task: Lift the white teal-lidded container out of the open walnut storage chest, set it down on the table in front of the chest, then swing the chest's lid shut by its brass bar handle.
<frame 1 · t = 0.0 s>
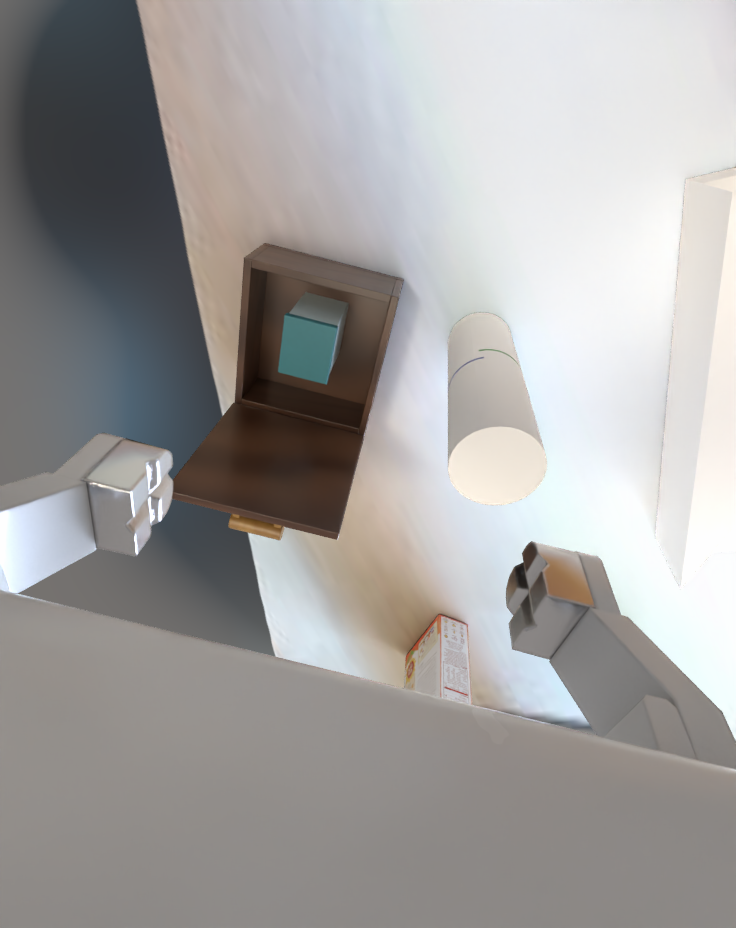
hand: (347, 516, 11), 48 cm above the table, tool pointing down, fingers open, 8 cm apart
white teal-lidded container: (323, 322, 58), point 1 cm above the table, touching chest
cylindrical container: (479, 342, 58), on the table
chest: (322, 332, 59), on the table
cracker box: (436, 639, 89), on the table
lid: (276, 476, 52), point 16 cm above the table, hinge at 88.0°
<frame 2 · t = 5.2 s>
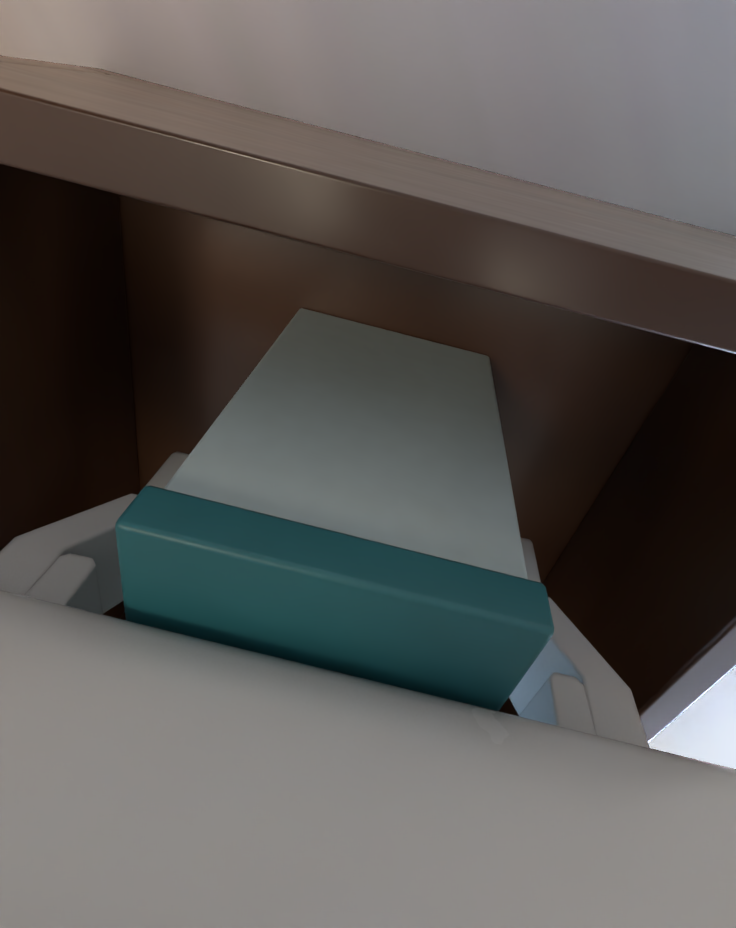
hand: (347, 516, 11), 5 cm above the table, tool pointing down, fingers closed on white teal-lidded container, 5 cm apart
white teal-lidded container: (370, 428, 15), point 1 cm above the table, touching chest, gripper
chest: (362, 454, 16), on the table
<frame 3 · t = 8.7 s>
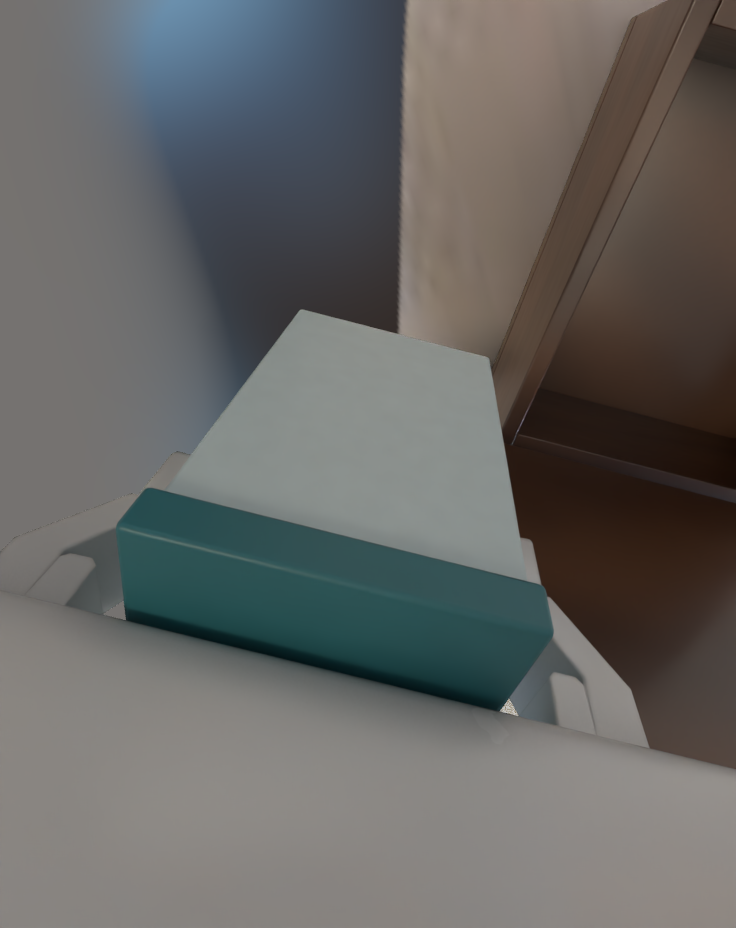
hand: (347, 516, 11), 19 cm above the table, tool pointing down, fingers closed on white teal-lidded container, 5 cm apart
white teal-lidded container: (370, 429, 15), point 16 cm above the table, touching gripper
chest: (695, 274, 25), on the table
lid: (710, 672, 18), point 16 cm above the table, hinge at 88.0°
when the fingers open (4 cm above the table, at t = 12.6 s): white teal-lidded container stays where it is, on the table.
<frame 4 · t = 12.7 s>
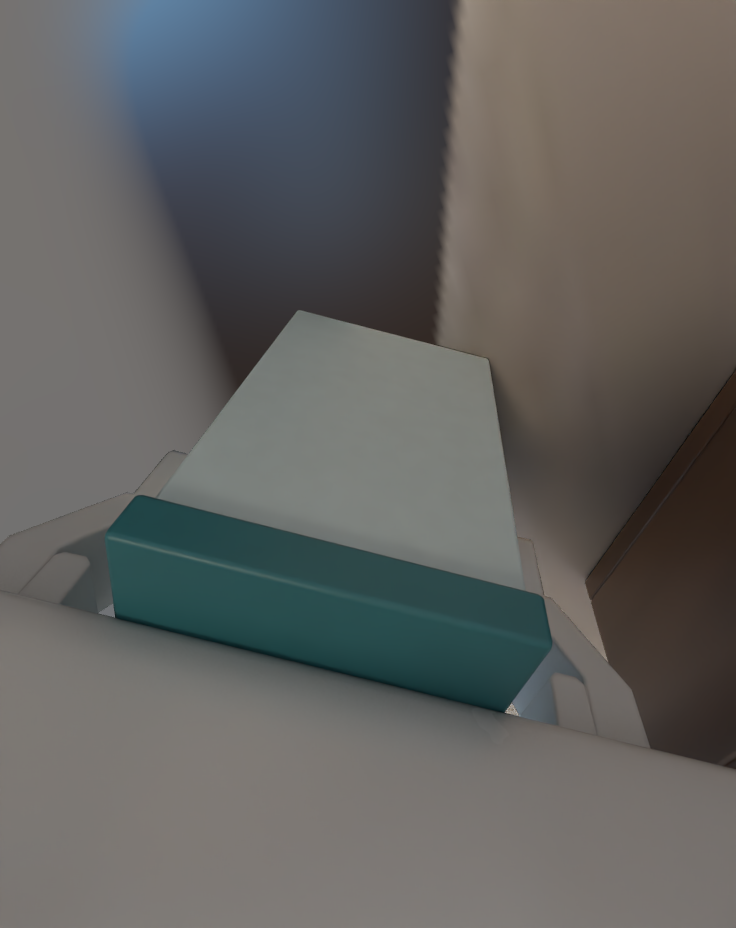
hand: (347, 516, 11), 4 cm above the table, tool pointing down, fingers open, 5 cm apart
white teal-lidded container: (368, 431, 14), on the table
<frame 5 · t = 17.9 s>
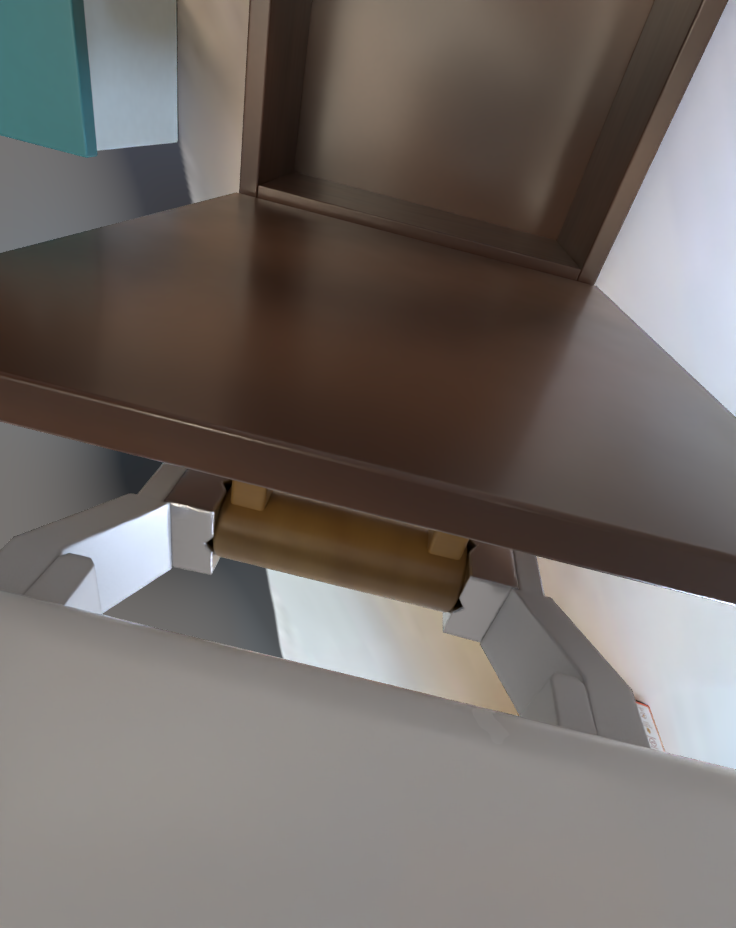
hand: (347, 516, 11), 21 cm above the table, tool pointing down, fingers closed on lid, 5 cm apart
white teal-lidded container: (128, 59, 25), on the table
chest: (473, 19, 22), on the table
cracker box: (582, 724, 52), on the table
lid: (385, 369, 15), point 16 cm above the table, hinge at 88.0°, touching gripper
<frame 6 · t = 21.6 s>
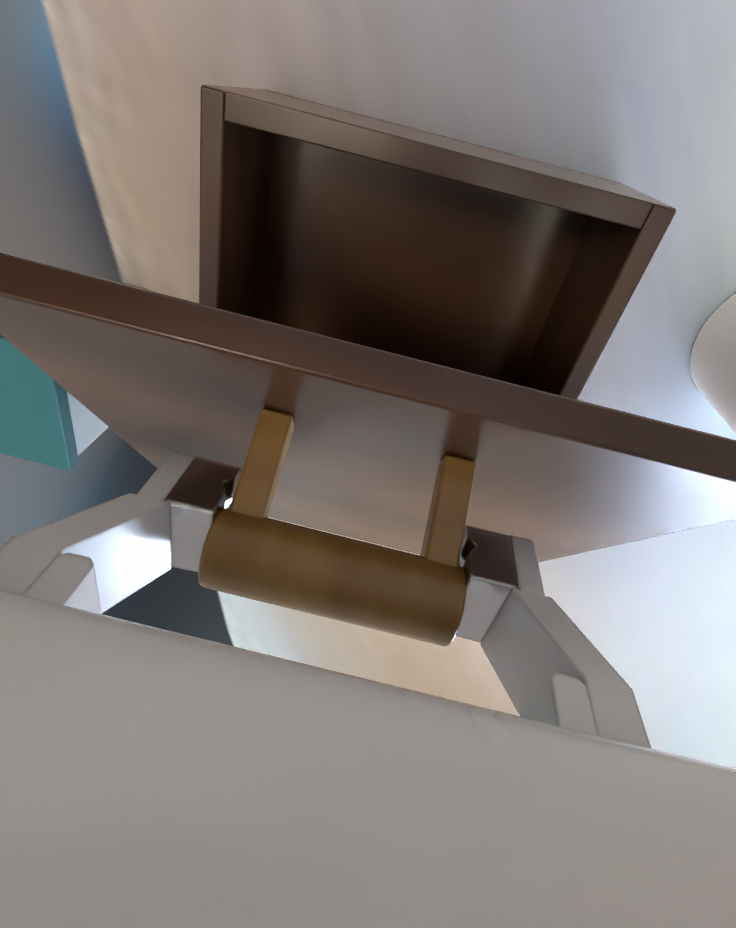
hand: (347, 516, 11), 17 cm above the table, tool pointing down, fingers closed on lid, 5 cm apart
white teal-lidded container: (107, 329, 29), on the table
chest: (396, 321, 26), on the table
lid: (341, 542, 16), point 14 cm above the table, hinge at 36.8°, touching gripper
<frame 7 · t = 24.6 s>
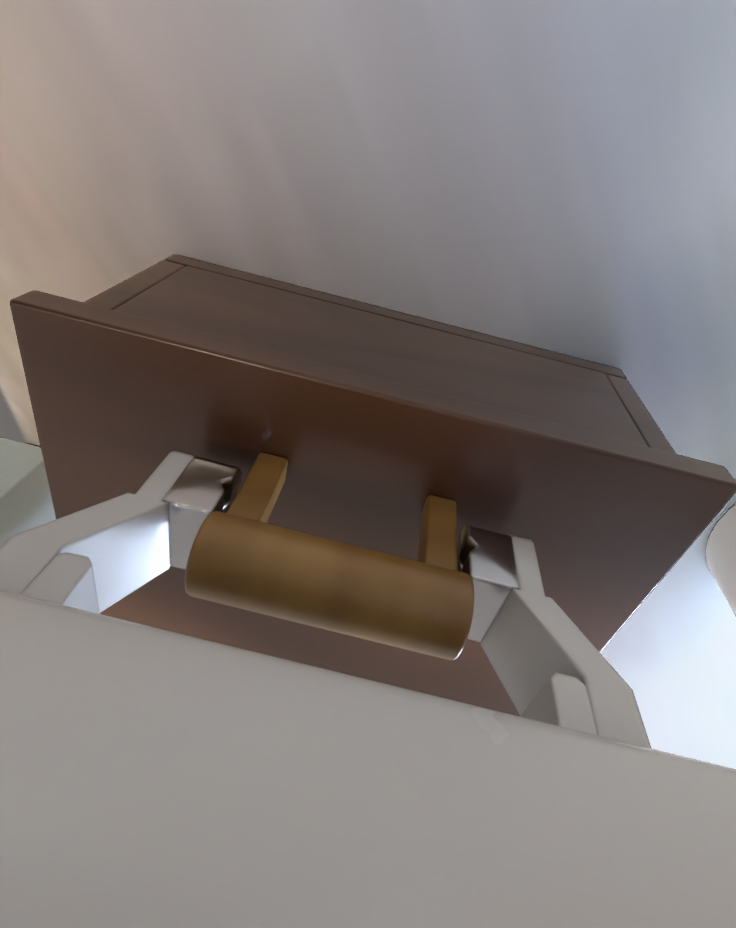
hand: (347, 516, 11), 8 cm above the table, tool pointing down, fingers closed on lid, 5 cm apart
white teal-lidded container: (14, 486, 24), on the table
chest: (352, 495, 22), on the table
lid: (305, 685, 14), point 9 cm above the table, hinge at -0.2°, touching chest, gripper
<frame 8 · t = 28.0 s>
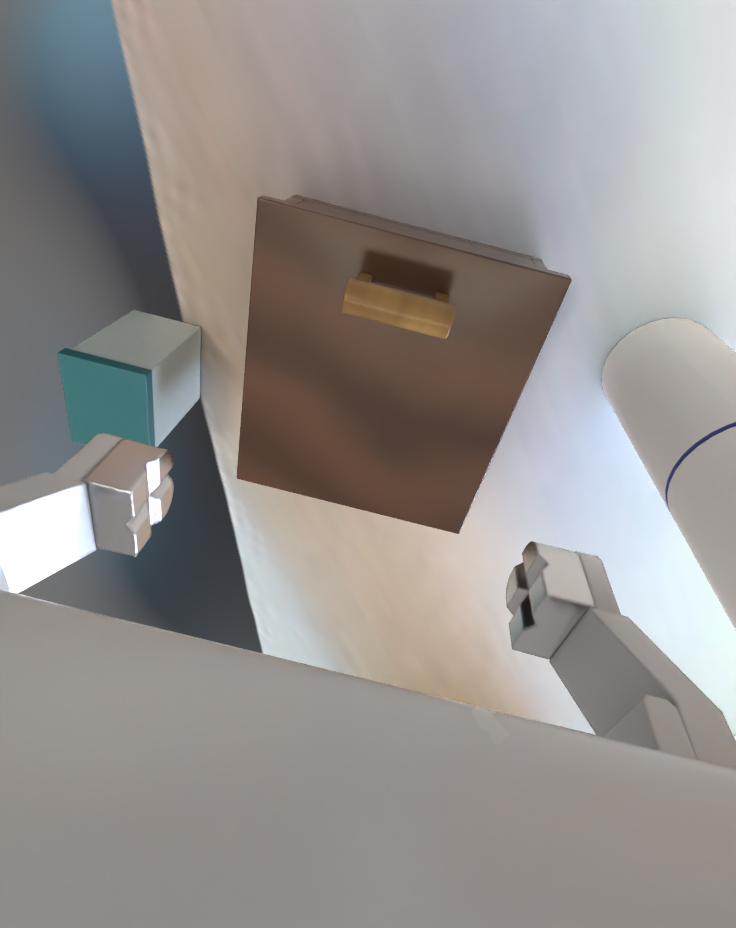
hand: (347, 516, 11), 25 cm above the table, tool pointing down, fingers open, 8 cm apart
white teal-lidded container: (168, 355, 38), on the table
cylindrical container: (657, 369, 34), on the table
chest: (387, 351, 36), on the table
lid: (373, 408, 28), point 9 cm above the table, hinge at -0.2°, touching chest
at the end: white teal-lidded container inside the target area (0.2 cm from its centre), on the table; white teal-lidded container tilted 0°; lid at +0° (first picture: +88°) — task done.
